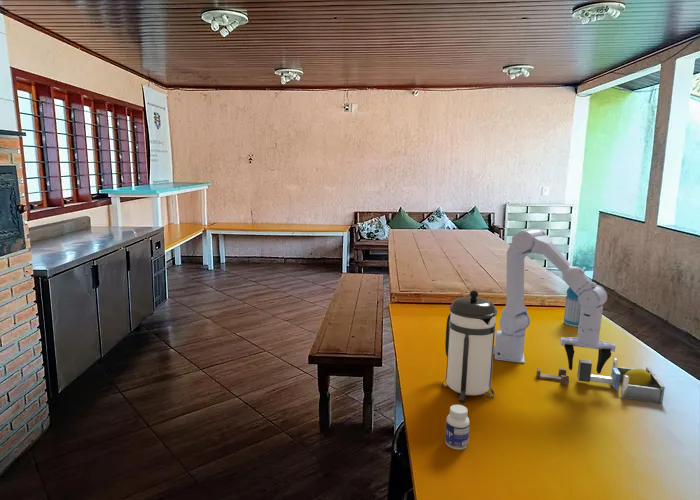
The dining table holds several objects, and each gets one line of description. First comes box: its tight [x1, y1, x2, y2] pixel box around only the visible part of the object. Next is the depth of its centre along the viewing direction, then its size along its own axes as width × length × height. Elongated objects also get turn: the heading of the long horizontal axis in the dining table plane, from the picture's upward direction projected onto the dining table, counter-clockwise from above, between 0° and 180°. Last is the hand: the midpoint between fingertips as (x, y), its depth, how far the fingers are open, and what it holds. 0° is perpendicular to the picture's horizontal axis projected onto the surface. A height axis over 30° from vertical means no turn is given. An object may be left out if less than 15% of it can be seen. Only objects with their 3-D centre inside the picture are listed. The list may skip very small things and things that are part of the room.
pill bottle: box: [444, 404, 470, 450], centre depth 110 cm, size 5×5×9 cm
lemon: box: [621, 368, 651, 387], centre depth 138 cm, size 6×6×8 cm
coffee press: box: [441, 289, 498, 403], centre depth 134 cm, size 17×16×30 cm
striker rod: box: [576, 358, 621, 390], centre depth 141 cm, size 11×4×7 cm, turn 73°
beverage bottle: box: [563, 287, 581, 328], centre depth 194 cm, size 8×8×20 cm
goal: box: [610, 357, 666, 404], centre depth 138 cm, size 10×14×6 cm
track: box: [536, 367, 570, 386], centre depth 145 cm, size 9×6×2 cm
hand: (584, 370), depth 142 cm, fingers open, 7 cm apart
